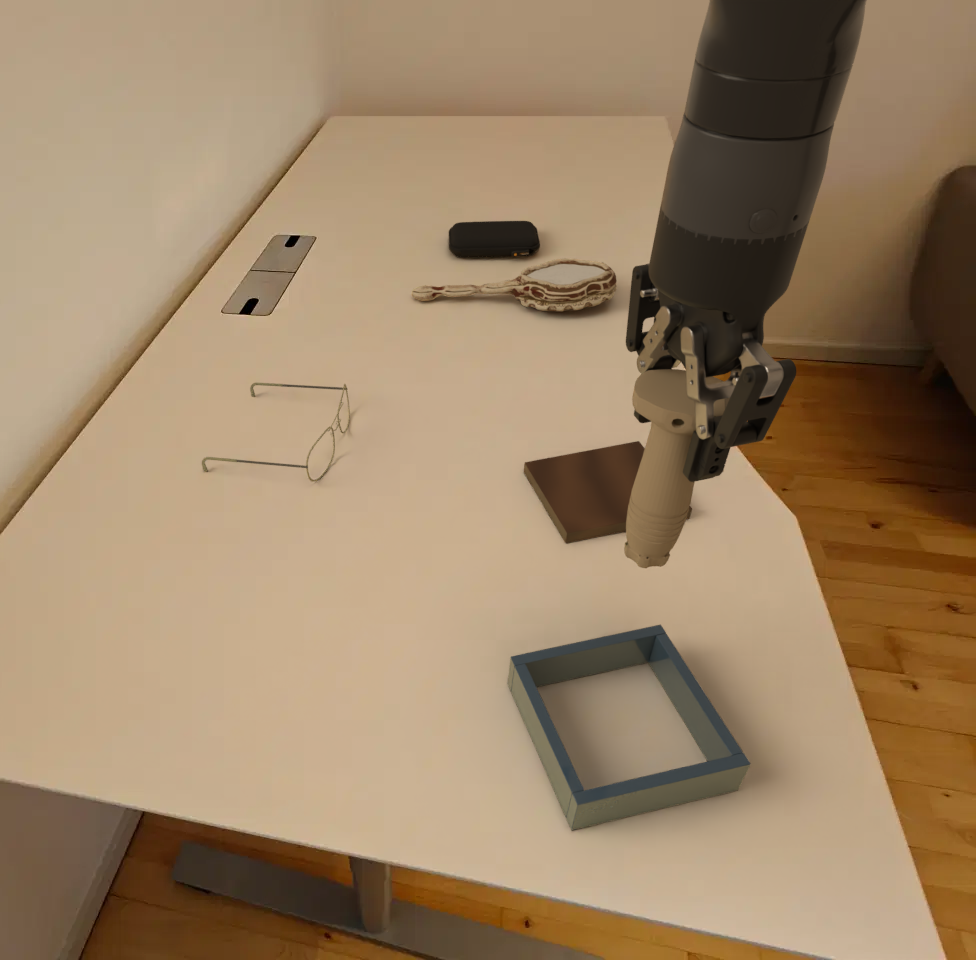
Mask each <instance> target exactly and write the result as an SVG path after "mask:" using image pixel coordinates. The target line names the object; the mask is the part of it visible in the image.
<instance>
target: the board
mask: <svg viewBox="0 0 976 960" xmlns="http://www.w3.org/2000/svg"><path fill="white" fill-rule="evenodd" d="M644 450H645V446H644V445H643V444H642V443H641V442H640V441H639V440H636V441H631V442H626V443H619V444H615V445H610V446H609V445H608V446H605V447H599V448H595V449H588V450H583V451H577V452H573V453H567V454H562V455H556V456H551V457H546V458H541V459H535V460H531V461H525V462H524V465H523V474H524V476H525V477H526V479H527V481H528V482H529V484H530V486H531V488H532V489H533V491H534V493H535V495H536V496H537V498H538V499H539V501H540V503H541V505H542V506H543V508H544V510H545V512H546V513H547V514H548V516H549V518H550V520H551V521H552V523H553V524H554V526H555V528H556V529H557V532H558V533H559V535H560V536H561V538H562V540H563V541H564V543H565V544H570V543H574V542H580V541H584V540H589V539H594V538H599V537H604V536H610V535H614V534H619V533H624V532H625V533H626V520H627V511H628V505H629V500H630V496H631V492H632V488H633V485H634V482H635V479H636V475H637V472H638V469H639V466H640V463H641V460H642V457H643V453H644ZM692 510H693V507H692V506H691V505H690V507H689V511H688V514H687V518H686V520H689V519H690V518H691V515H692Z"/></svg>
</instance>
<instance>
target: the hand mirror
mask: <svg viewBox="0 0 976 960" xmlns="http://www.w3.org/2000/svg"><path fill="white" fill-rule="evenodd" d="M617 282H618V281H617V275H616V273H615V271H614V270H613V268H611V267H610V266H609V265H608V264H606V263H604V262H601V261H594V260H586V259H577V258H557V259H552V260H549V261H546V262H543V263H540V264H537V265H531V266H528V267H526V268H524V269H522V271H520V274H519V275H518V276H517V277H515V278H513V279H506V280H502V281H498V282H491V283H490V282H489V283H483V284H481V285H475V284H460V285H459V284H458V285H457V284H456V285H455V284H454V285H453V284H452V285H450V284H449V285H448V284H446V285H442V286H435V285H426V284H425V285H420V286H417V287H415V288H413V289H412V290H411V296H412V298H414V299H415V300H418V301H422V302H427V301H433V300H435V299H436V298H438V297H440V296H445V297H447V298H458V297H469V296H473V295H475V294H477V295H511V296H513V297H514V298H515V300H517V301H519V302H520V305H522V306H523V307H525V308H533V309H536V310H537V311H542V312H566V311H579V310H583V309H585V308H591V307H595V306H599V305H600V304H601V303H602V302H605V301H609V300H611V299H612V298H613V297H614V296H615V292H616V291H617V290H618V289H617V288H618V287H617Z"/></svg>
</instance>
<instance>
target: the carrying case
mask: <svg viewBox="0 0 976 960" xmlns="http://www.w3.org/2000/svg"><path fill="white" fill-rule="evenodd" d="M540 248H541V241H540V237H539V232H538V228H537V227H536V226H535V225H534V223H533V222H531V221H530V220H529V221H528V220H492V221H491V220H490V221H488V220H487V221H461V222H456V223H455V224H453V225H452V226H451V227H450V228H449V230H448V250H449V252H450V253H452V254H453V256H455V257H456V258H463V259H464V258H466V259H467V258H468V259H469V258H471V259H472V258H475V259H477V258H479V259H480V258H522V257H530V256H533V255H535V254H536V253H537V252H538V251H539V250H540Z"/></svg>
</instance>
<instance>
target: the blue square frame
mask: <svg viewBox="0 0 976 960" xmlns="http://www.w3.org/2000/svg"><path fill="white" fill-rule="evenodd" d="M643 664H648V665H649V667H650V669H651V670H652V672H653V673H654V675H655V676H656V677H655V678H657V680H658V682H659V683H660V685H661V686H662V687H661V688H663V690H664V692H665V693H666V695H667V697H668V699H669V700H670V702H671V703H672V705H673V706H674V709H675V710H676V711H677V713H678V715H679V717H680V718H681V719H682V722H683V723H684V724H685V726H686V728H687V730H688V731H689V733H690V734H691V736H692V738H693V740H694V741H695V744H696V745H697V746H698V748H699V750H700V751H701V753H702V755H703V757H704V758H705V759H706V761H703V762H699V763H695V764H690V765H685V766H682V767H677V768H674V769H673V768H672V769H669V770H665V771H660V772H657V773H653V774H648V775H645V776H644V775H643V776H639V777H634V778H631V779H627V780H623V781H618V782H614V783H613V782H612V783H610V784H606V785H601V786H597V787H596V786H595V787H592V788H589V789H584V786H583V784H582V782H581V779H580V777H579V775H578V774H577V773H578V772H577V771H576V769H575V767H574V765H573V763H572V761H571V759H570V756H569V755H568V752H567V750H566V747H565V745H564V744H563V743H564V742H563V741H562V738H561V737H560V735H559V733H558V731H557V729H556V726H555V725H554V724H555V723H554V722H553V720H552V717H551V715H550V713H549V711H548V709H547V707H546V705H545V702H544V700H543V698H542V696H541V694H540V691H539V690H538V687H542V686H549V685H552V684H557V683H561V682H565V681H570V680H575V679H580V678H583V677H589V676H593V675H597V674H602V673H606V672H612V671H615V670H616V671H617V670H620V669H626V668H629V667H634V666H635V667H636V666H638V665H643ZM507 674H508V675H507V676H508V677H507V682H506V685H507V687H508V688H509V691H510V693H511V695H512V698H513V699H514V702H515V704H516V707H517V709H518V711H519V714H520V717H521V718H522V721H523V723H524V725H525V727H526V730H527V732H528V734H529V736H530V737H529V738H530V739H531V741H532V743H533V746H534V748H535V750H536V752H537V755H538V758H539V759H540V762H541V765H542V766H543V768H544V771H545V773H546V776H547V778H548V780H549V783H550V784H551V787H552V790H553V792H554V794H555V797H556V799H557V801H558V803H559V806H560V808H561V810H562V812H563V815H564V818H565V820H566V821H567V824H568V826H569V828H570V830H571V831H576V830H579V829H583V828H587V827H591V826H597V825H601V824H604V823H608V822H612V821H617V820H621V819H625V818H630V817H633V816H638V815H642V814H645V813H649V812H655V811H658V810H663V809H667V808H671V807H675V806H679V805H683V804H684V805H685V804H688V803H692V802H696V801H700V800H704V799H709V798H713V797H717V796H720V795H725V794H729V793H734V792H737V791H739V789H740V787H741V785H742V783H743V781H744V779H745V777H746V775H747V773H748V772H749V769H750V768H751V765H752V764H751V762H750V760H749V759H748V757H747V755H746V754H745V753H744V751H743V750H742V748H741V746H740V745H739V743H738V742H737V741H736V739H735V737H734V736H733V734H732V732H731V731H730V730H729V727H727V725H726V723H725V721H724V720H723V719H722V718H721V715H720V714H719V712H718V711H717V709H716V707H715V706H714V704H713V703H712V702H711V701H710V700H711V699H709V697H708V696H707V694H706V693H705V691H704V689H703V688H702V686H701V685H700V683H699V681H698V680H697V678H696V677H695V675H694V674H693V672H692V670H691V669H690V668H689V666H688V664H687V662H686V661H685V660H684V658H683V657H682V656H681V654H680V652H679V650H678V649H677V647H676V646H675V644H674V643H673V641H672V640H671V638H670V637H669V635H668V633H667V631H666V630H665V629H664V627H663V626H662V624H655V625H651V626H646V627H642V628H638V629H637V628H636V629H633V630H628V631H623V632H619V633H613V634H609V635H605V636H602V637H596V638H591V639H585V640H581V641H577V642H571V643H567V644H562V645H558V646H553V647H548V648H544V649H543V648H542V649H538V650H535V651H529V652H525V653H519V654H515V655H511V656H510V657H509V665H508V673H507Z"/></svg>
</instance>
